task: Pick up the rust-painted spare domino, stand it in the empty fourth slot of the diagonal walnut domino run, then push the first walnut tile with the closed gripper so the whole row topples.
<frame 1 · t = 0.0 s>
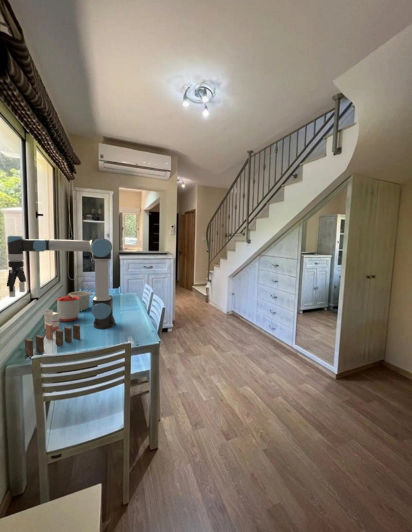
hand: (17, 294, 153), 28 cm above the table, fingers open, 13 cm apart
planter: (79, 310, 216), on the table
domino 5: (40, 351, 138), on the table
domino 3: (59, 344, 148), on the table
domino 1: (76, 338, 157), on the table
ink cartridge box: (52, 329, 171), on the table
domino 2: (68, 341, 153), on the table
spare domino: (49, 338, 157), on the table
citrus juicer: (69, 319, 193), on the table
domino 6: (29, 355, 133), on the table
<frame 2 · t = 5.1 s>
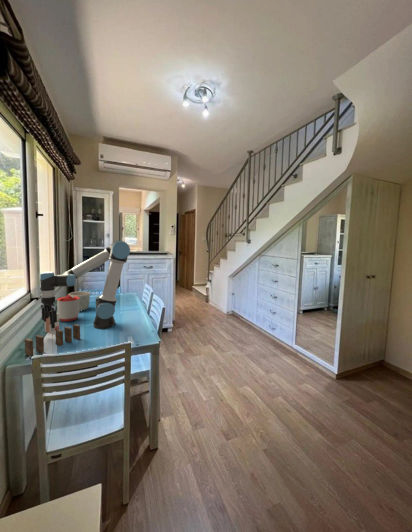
hand: (50, 331, 156), 4 cm above the table, fingers closed on spare domino, 5 cm apart
spare domino: (50, 332, 156), point 4 cm above the table, touching gripper
everything else where it was.
when the fingers open (1 cm above the table, at t = 11.0 s): spare domino stays where it is, on the table.
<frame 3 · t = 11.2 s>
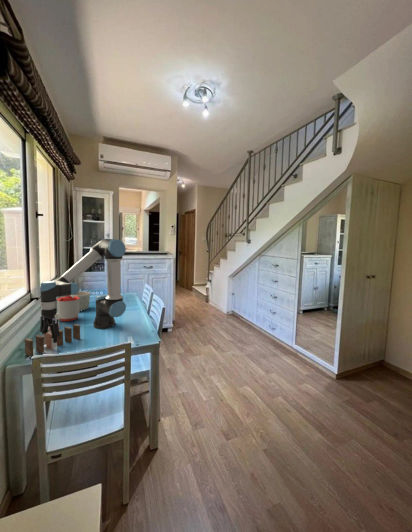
hand: (50, 345, 143), 1 cm above the table, fingers open, 8 cm apart
spare domino: (50, 347, 143), on the table
everything else where it was.
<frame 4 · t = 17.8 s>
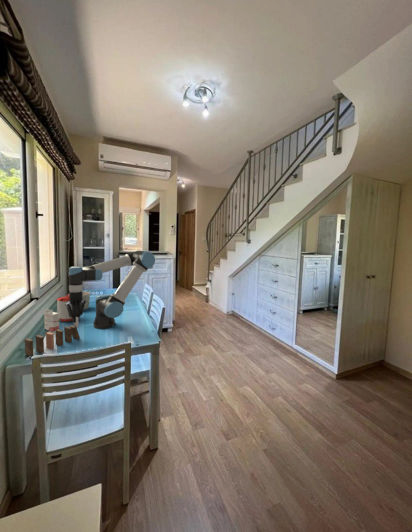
hand: (76, 327, 157), 8 cm above the table, fingers closed
domino 1: (76, 338, 157), on the table, tilted 15°
everything else where it was.
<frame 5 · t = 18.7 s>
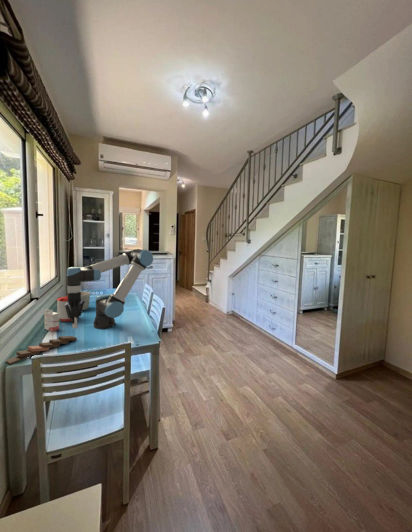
hand: (74, 327, 156), 7 cm above the table, fingers closed
domino 5: (36, 351, 137), point 1 cm above the table, tilted 78°, touching domino 6, spare domino
domino 3: (57, 344, 146), point 1 cm above the table, tilted 74°, touching domino 2, spare domino
domino 1: (74, 338, 156), point 1 cm above the table, tilted 73°, touching domino 2
domino 2: (66, 341, 151), point 1 cm above the table, tilted 73°, touching domino 1, domino 3
spare domino: (46, 347, 141), point 1 cm above the table, tilted 72°, touching domino 3, domino 5
domino 6: (27, 355, 132), on the table, tilted 90°, touching domino 5
everything else where it was.
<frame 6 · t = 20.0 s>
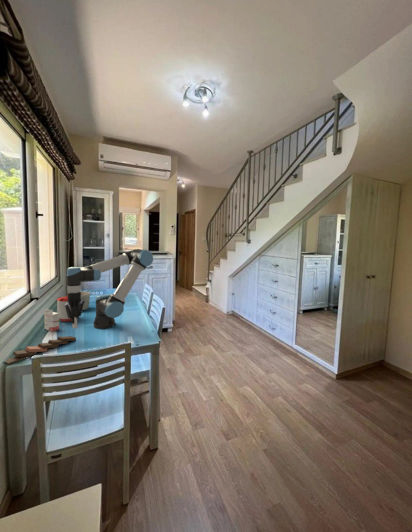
hand: (74, 327, 156), 7 cm above the table, fingers closed
domino 5: (34, 351, 136), point 1 cm above the table, tilted 78°, touching domino 6, spare domino
spare domino: (44, 348, 140), point 1 cm above the table, tilted 72°, touching domino 3, domino 5
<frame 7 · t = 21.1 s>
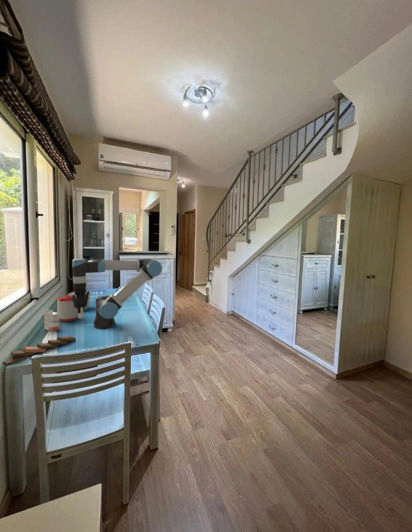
hand: (81, 317, 161), 12 cm above the table, fingers closed
domino 5: (32, 352, 135), point 1 cm above the table, tilted 77°, touching domino 6
spare domino: (43, 349, 139), point 1 cm above the table, tilted 72°, touching domino 3
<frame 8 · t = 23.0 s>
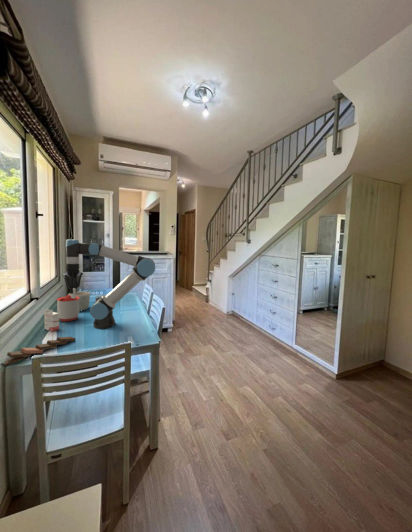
hand: (73, 297, 163), 24 cm above the table, fingers closed
domino 5: (28, 353, 133), point 1 cm above the table, tilted 73°, touching spare domino
domino 1: (72, 338, 155), point 1 cm above the table, tilted 74°, touching domino 2
spare domino: (40, 350, 138), point 1 cm above the table, tilted 69°, touching domino 3, domino 5
domino 6: (23, 356, 131), on the table, tilted 90°
at the end: spare domino inside the target area (0.9 cm from its centre), point 0.8 cm above the table; spare domino tilted 71°; domino 6 tilted 90° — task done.
